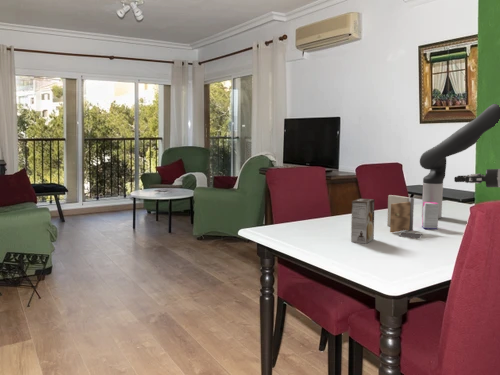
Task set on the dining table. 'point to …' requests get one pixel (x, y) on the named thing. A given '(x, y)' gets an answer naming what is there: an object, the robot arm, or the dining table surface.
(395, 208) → the door
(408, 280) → the dining table surface
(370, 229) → the coffee box
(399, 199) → the cream upright panel
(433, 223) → the supplement box
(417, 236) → the pad
